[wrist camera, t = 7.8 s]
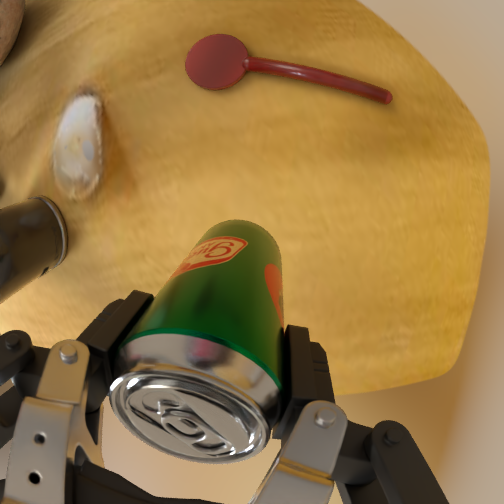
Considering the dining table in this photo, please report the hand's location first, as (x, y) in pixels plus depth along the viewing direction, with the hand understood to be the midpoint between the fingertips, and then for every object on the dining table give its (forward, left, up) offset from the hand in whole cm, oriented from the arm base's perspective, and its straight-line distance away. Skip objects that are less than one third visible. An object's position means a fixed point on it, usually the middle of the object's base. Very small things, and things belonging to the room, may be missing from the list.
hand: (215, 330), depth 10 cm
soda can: (0, 0, -8) cm, 8 cm away
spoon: (+1, +14, -17) cm, 22 cm away
